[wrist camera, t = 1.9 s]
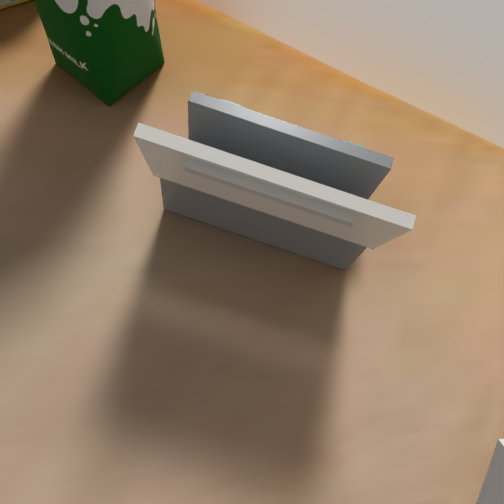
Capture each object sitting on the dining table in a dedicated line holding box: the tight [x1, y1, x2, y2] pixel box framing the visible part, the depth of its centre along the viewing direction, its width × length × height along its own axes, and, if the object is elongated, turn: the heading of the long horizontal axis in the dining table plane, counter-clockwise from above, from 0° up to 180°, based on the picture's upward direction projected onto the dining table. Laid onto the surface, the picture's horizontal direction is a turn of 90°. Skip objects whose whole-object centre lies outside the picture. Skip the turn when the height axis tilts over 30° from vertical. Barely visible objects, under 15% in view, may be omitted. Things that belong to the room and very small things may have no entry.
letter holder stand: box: [160, 91, 393, 270], centre depth 38 cm, size 16×8×7 cm, turn 73°
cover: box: [133, 123, 416, 249], centre depth 29 cm, size 16×7×1 cm
